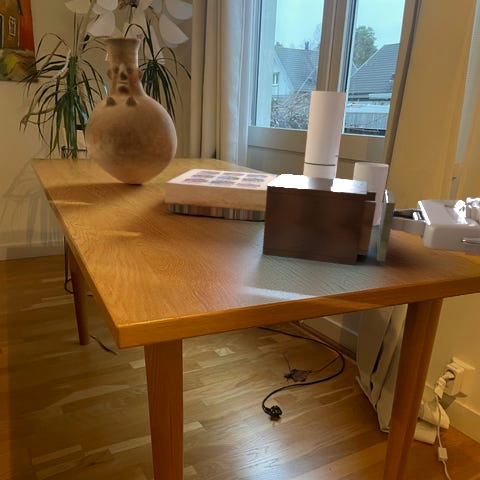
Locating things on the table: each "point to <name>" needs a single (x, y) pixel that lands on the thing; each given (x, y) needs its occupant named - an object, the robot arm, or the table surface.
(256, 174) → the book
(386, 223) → the drawer
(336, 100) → the cylindrical container
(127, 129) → the vase
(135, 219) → the table surface
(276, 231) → the cabinet
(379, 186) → the mug
